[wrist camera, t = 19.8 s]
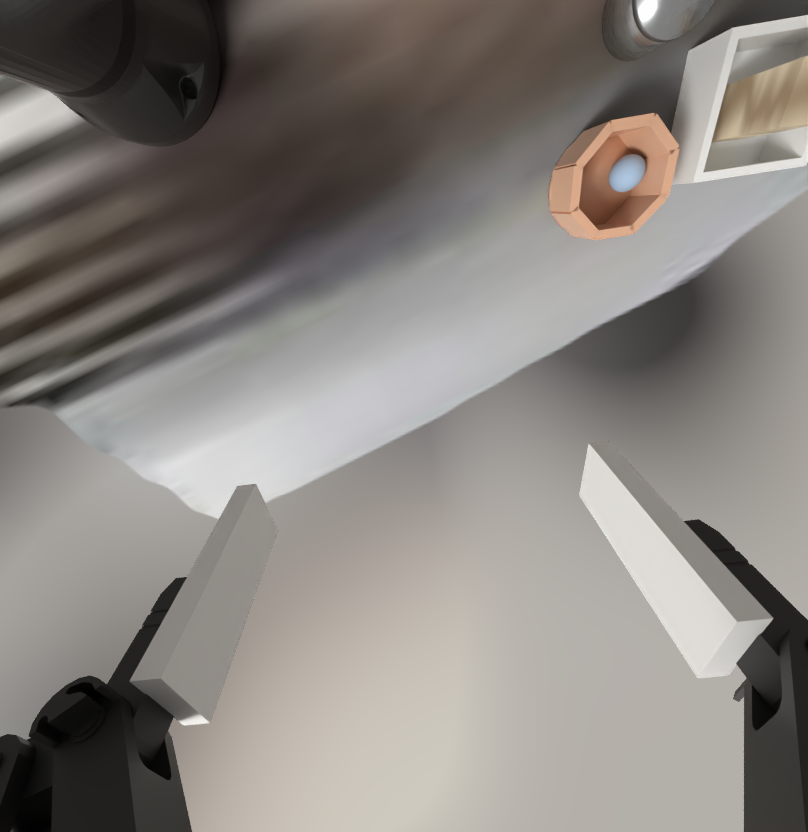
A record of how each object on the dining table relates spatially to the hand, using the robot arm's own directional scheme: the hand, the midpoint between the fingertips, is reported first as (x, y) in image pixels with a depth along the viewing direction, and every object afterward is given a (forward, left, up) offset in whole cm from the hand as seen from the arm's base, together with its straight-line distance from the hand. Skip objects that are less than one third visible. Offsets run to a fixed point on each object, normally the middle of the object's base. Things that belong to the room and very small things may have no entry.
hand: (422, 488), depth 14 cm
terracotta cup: (-9, +21, -32) cm, 39 cm away
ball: (-10, +23, -31) cm, 40 cm away
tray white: (-13, +33, -32) cm, 48 cm away
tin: (-21, +23, -32) cm, 45 cm away
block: (-13, +33, -31) cm, 47 cm away
